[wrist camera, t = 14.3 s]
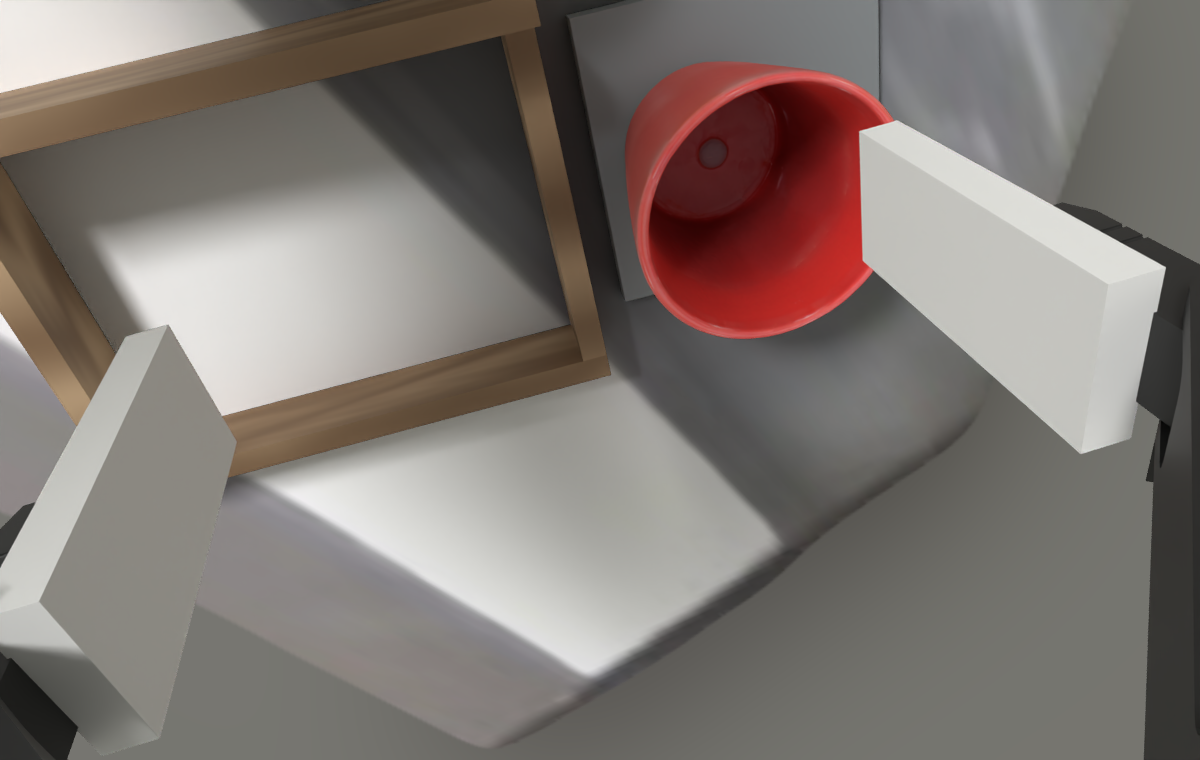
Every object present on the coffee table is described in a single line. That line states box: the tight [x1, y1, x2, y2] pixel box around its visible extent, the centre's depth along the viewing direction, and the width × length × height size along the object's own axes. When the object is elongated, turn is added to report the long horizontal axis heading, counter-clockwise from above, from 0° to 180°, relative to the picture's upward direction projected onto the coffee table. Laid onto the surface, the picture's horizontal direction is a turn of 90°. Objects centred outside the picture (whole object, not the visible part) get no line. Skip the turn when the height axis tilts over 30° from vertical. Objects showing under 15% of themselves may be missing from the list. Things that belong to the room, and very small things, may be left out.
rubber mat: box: [566, 0, 879, 302], centre depth 41 cm, size 14×14×1 cm
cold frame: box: [0, 0, 611, 477], centre depth 37 cm, size 18×24×7 cm
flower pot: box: [625, 61, 894, 339], centre depth 36 cm, size 11×11×10 cm
